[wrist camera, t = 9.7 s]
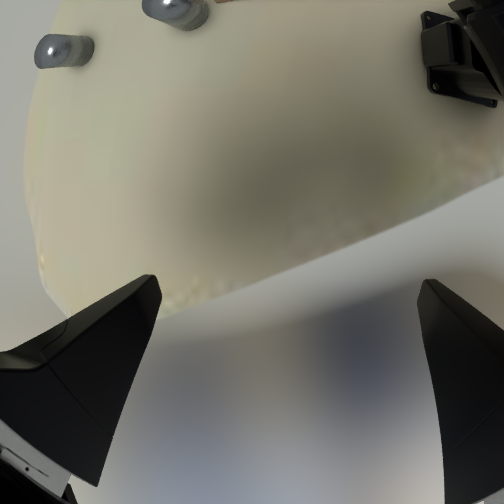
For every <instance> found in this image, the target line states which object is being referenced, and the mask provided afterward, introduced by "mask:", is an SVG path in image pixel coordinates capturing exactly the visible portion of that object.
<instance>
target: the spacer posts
mask: <svg viewBox="0 0 504 504" xmlns="http://www.w3.org/2000/svg"><path fill="white" fill-rule="evenodd" d="M142 9H143V11H144V13H145V14H146V15H147V16H149V17H151V18H154V19H157V20H159V21H161V22H164V23H166V24H169V25H171V26H173V27H176V28H178V29H180V30H185V31H187V30H193V29H196V28H198V27H199V26H201V25H202V24H203V23H204V22H205V21H206V19H207V17H208V14H209V8H208V6H207V4H206V3H205V2H204V1H203V0H142ZM93 51H94V43H93V41H92V39H91V38H89V37H85V36H75V35H59V34H48V35H46V36H44V37H43V38H42V39H41V40H40V41H39V43H38V45H37V47H36V50H35V55H34V60H35V64H36V66H37V67H38V68H40V69H44V68H56V67H74V66H83V65H84V64H86V63H87V62H88V61H89V60H90V58H91V56H92V54H93Z"/></svg>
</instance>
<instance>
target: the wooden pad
mask: <svg viewBox="0 0 504 504" xmlns="http://www.w3.org/2000/svg"><path fill="white" fill-rule="evenodd" d="M214 1H215V2H216V3H219V2H225V1H232V0H214Z"/></svg>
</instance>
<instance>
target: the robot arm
mask: <svg viewBox="0 0 504 504" xmlns="http://www.w3.org/2000/svg"><path fill="white" fill-rule="evenodd" d="M448 5H449V6H450V8H451V9H452V10H453V11H455V12H456V13H457V15H458V16H459V17H460V18H458V19H454V18H451V17H448V16H444V15H441V14H438V13H434V12H430V11H425V12H423V13H422V23H423V30H424V31H423V32H422V42H423V53H424V63H425V65H426V66H427V78H428V89H429V90H430V91H431V92H432V93H435V94H440V95H445V96H449V97H454V98H458V99H462V100H466V101H470V102H474V103H477V104H481V105H485V106H488V107H492V108H495V107H496V106H497V100H501V101H504V0H455V1H453V2H451V3H449V4H448ZM427 15H428V16H430V18H431V20H429V19H428V18H427ZM433 84H436V86H437V89H436V90H435V89H434V88H433ZM491 99H492V101H493V103H491ZM161 301H162V293H161V290H160V287H159V283H158V280H157V277H156V276H155V275H148V274H145V275H142V276H141V277H139V278H137V279H135V280H133V281H132V282H130V283H128V284H126V285H125V286H123V287H121V288H119V289H118V290H116V291H114V292H112V293H111V294H109V295H107V296H105V297H104V298H102V299H100V300H99V301H97V302H95V303H93V304H92V305H90V306H88V307H87V308H85V309H83V310H81V311H80V312H78V313H76V314H75V315H73V316H71V317H70V318H68V319H66V320H65V321H63V322H61V323H60V324H58V325H56V326H54V327H53V328H51V329H49V330H47V331H46V332H44V333H42V334H40V335H38V336H37V337H34V338H33V339H31V340H29V341H27V342H25V343H23V344H21V345H19V346H18V347H15V348H13V349H11V350H8V351H3V352H0V504H78V503H77V501H76V499H75V496H74V493H73V490H72V488H71V485H70V484H68V481H69V478H70V476H71V474H72V475H74V476H75V477H77V478H79V479H81V480H83V481H85V482H87V483H89V484H90V485H92V486H95V487H97V486H98V483H99V480H100V477H101V473H102V470H103V467H104V464H105V460H106V457H107V454H108V451H109V448H110V445H111V442H112V439H113V437H112V436H114V433H115V429H116V427H117V424H118V421H119V418H120V415H121V412H122V410H123V407H124V404H125V401H126V398H127V396H128V393H129V391H130V388H131V385H132V383H133V380H134V377H135V375H136V372H137V369H138V367H139V364H140V362H141V359H142V357H143V354H144V352H145V349H146V347H147V344H148V342H149V339H150V337H151V334H152V331H153V328H154V324H155V321H156V317H157V314H158V311H159V307H160V304H161ZM417 307H418V313H419V318H420V324H421V331H422V337H423V344H424V348H425V352H426V357H427V361H428V365H429V370H430V374H431V379H432V384H433V389H434V395H435V400H436V406H437V412H438V419H439V426H440V434H441V443H442V453H443V468H444V491H445V504H476V503H479V502H481V501H484V504H504V330H503V329H501V328H500V327H499V326H498V325H496V324H495V323H494V322H493V321H491V320H490V319H489V318H488V317H486V316H485V315H483V314H482V313H481V312H480V311H478V310H477V309H476V308H475V307H473V306H472V305H470V304H469V303H468V302H467V301H465V300H464V299H463V298H461V297H460V296H458V295H457V294H456V293H454V292H453V291H451V290H450V289H449V288H447V287H446V286H445V285H443V284H442V283H440V282H439V281H437V280H436V279H425V280H424V281H423V283H422V286H421V289H420V293H419V296H418V300H417Z"/></svg>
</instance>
